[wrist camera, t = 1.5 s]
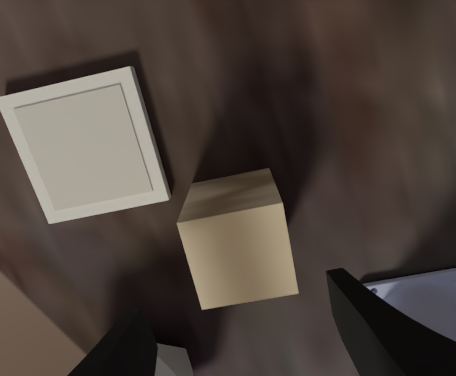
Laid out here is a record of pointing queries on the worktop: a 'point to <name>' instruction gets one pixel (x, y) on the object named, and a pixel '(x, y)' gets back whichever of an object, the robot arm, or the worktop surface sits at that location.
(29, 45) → the worktop surface
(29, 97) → the tray
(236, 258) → the maple block
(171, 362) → the die
